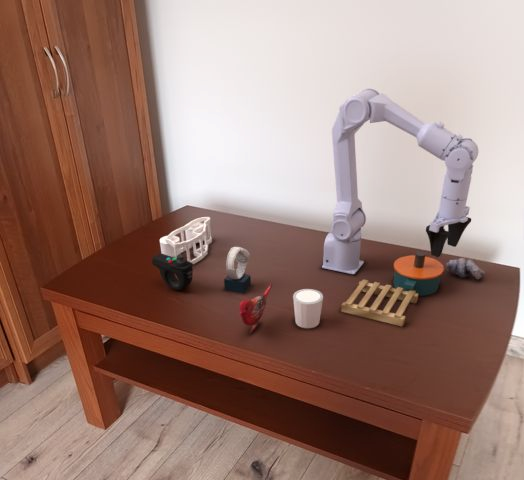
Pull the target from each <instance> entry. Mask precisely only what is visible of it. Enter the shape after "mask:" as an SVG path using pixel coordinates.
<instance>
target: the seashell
mask: <svg viewBox="0 0 524 480" xmlns="http://www.w3.org/2000/svg"><path fill="white" fill-rule="evenodd" d="M445 266H446V268H447V269H448V270H449V271H451V273H452V274H453V275H454V276H458V277H459V278H460V279H463V278H467V277H468V276H469V275H470V274H472V276H473V277H475V279H476V280H480V279H481V278H482V277H483V276H484V275H485V271H484V270H483V269H482V268H480V267H479V265H477V264H476V262H475V261H474V260H473V259H471V258H470V259H466V258H464V257H460V258H458V259H456V258H455V259H449V261H448V262H446V263H445Z"/></svg>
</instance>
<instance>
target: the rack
mask: <svg viewBox="0 0 524 480" xmlns="http://www.w3.org/2000/svg"><path fill="white" fill-rule="evenodd" d="M403 289H404V288H401V287H398V288H397V289H396V288H395V287H393V285H391V284H387V283H386V284H385V285H381V282H377V281H374V282H373V283H372V282H369V280H367V279H362V280H359V281H358V283H357V287H356V288H355V289H354V291H353V292H352V293H351V295H350V296H349V297H348V299H347V300H346V301H343V303H341V307H340V308H341V310H340V312H341V313H345V314H349V315H353V316H357V317H362V318H365V319H370V320H373V321H378V322H381V323H385V324H390V325H394V326H397V327H403V326H404V325H405V323H406V316H405V315H404V313H405V312H406V310H407V308H408V306H409V304H410V303H411V304H417V302H418V300H419V296H418V293H415V292H416V291H415V290H410V291H405V290H403ZM362 292H363V293H365V295H364V296H363V297H362V299H361V300H360V301H359V302H358V304H357V303H355V301H356V300H357V298H358V297H359V296H360V294H361V293H362ZM374 295H377V297H376V298H375V300H374V301H373V303H372V304H371V305H370V307H368V306H366V305H367V304H368V303H369V301H370V300H371V298H372V297H373V296H374ZM385 298H389V299H388V301H387V303H386V305H385V306H384V307H383V310H381V309H378V308H379V307H380V305H381V304H382V302H383V301H384V299H385ZM398 300H399V301H402V302H401V304H400V305H399V307H398V308H397V310H396V312H395V313H394V312H391V310H392V309H393V307H394V305H395V304H396V303H397V301H398Z"/></svg>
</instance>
